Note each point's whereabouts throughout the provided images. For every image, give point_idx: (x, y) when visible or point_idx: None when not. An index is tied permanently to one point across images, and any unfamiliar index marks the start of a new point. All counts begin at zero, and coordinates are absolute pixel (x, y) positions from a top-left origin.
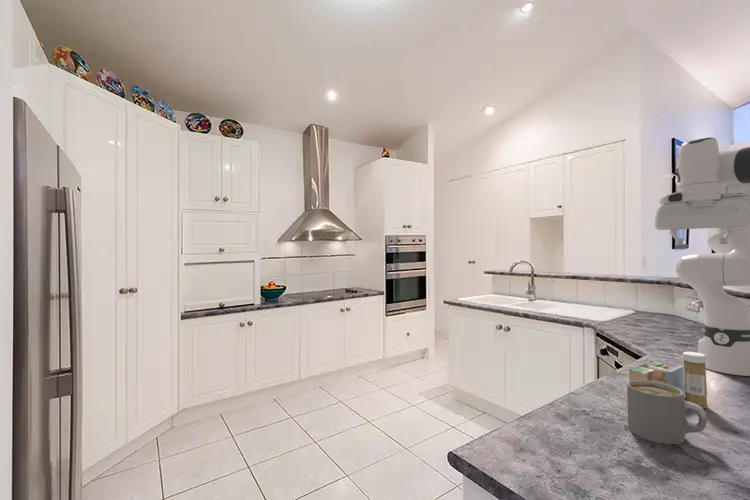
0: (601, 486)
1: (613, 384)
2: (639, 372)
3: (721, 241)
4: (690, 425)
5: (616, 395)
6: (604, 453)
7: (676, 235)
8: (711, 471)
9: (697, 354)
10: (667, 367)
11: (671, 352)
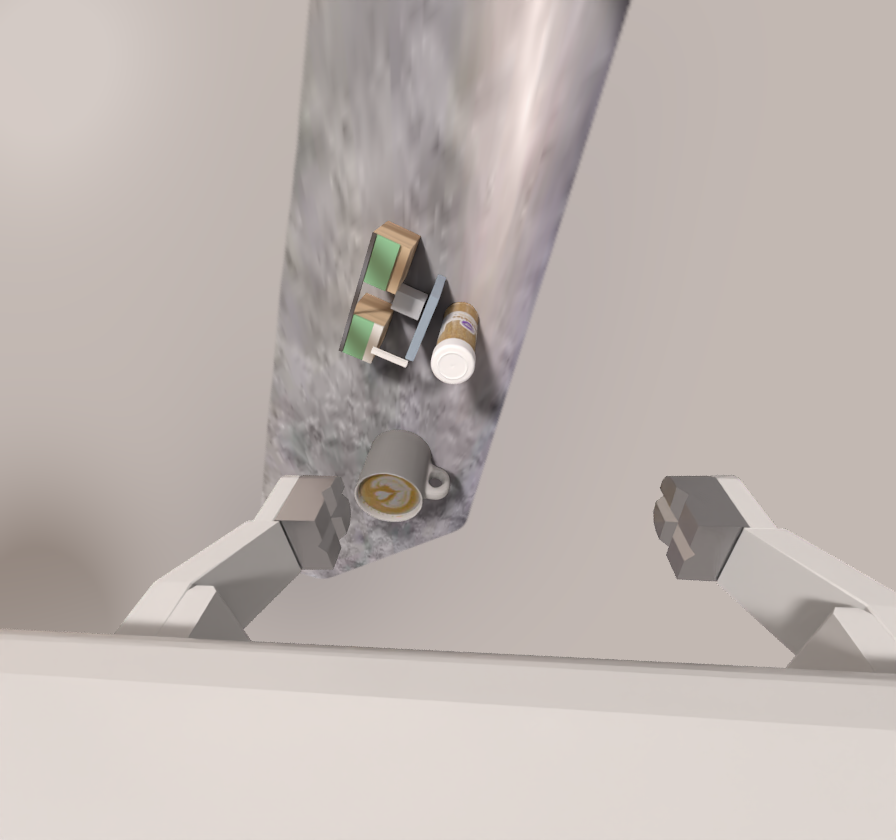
0: (369, 556)
1: (314, 264)
2: (359, 358)
3: (665, 541)
4: (434, 477)
5: (335, 337)
6: (360, 515)
7: (260, 609)
8: (447, 507)
9: (458, 371)
10: (410, 252)
11: None
